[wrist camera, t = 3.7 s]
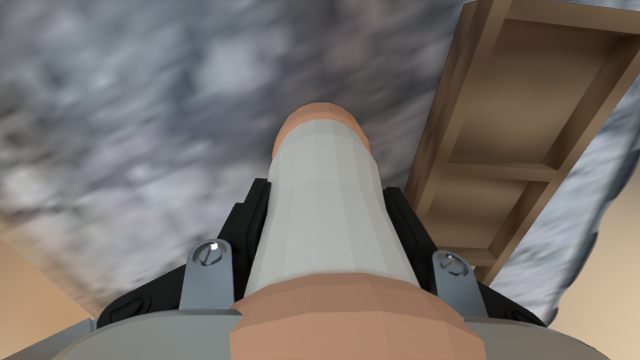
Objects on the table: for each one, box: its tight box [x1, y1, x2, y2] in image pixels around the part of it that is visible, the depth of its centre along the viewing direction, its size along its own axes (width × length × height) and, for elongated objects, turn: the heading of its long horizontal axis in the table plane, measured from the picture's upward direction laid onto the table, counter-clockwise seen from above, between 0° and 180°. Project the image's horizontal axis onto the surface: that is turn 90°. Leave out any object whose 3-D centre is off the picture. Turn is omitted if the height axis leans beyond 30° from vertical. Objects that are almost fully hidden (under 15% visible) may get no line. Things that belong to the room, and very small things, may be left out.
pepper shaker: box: [229, 102, 486, 360], centre depth 11 cm, size 7×7×19 cm
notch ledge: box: [403, 0, 640, 286], centre depth 21 cm, size 31×11×3 cm, turn 175°
